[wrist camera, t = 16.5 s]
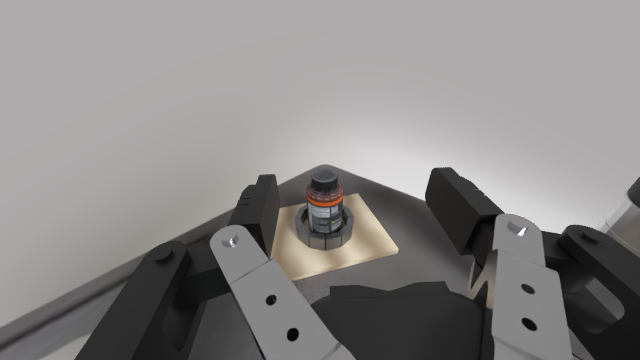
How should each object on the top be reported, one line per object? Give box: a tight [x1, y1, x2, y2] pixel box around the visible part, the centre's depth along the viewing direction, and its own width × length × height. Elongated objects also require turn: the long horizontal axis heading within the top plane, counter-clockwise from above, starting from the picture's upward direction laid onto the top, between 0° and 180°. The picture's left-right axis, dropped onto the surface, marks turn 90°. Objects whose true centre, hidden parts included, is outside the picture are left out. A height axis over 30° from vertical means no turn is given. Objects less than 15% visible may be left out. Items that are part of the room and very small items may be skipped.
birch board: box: [270, 193, 398, 281], centre depth 41 cm, size 20×16×1 cm
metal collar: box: [295, 204, 354, 251], centre depth 40 cm, size 10×10×2 cm
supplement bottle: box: [306, 169, 343, 235], centre depth 37 cm, size 6×6×11 cm
